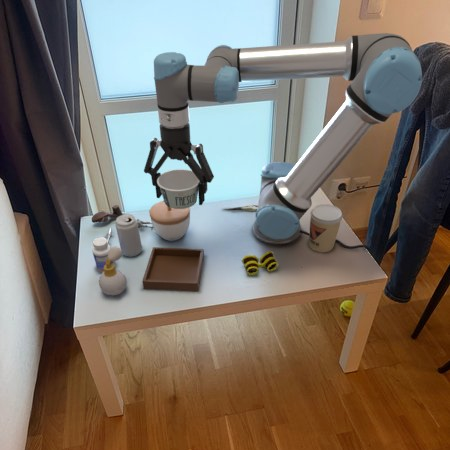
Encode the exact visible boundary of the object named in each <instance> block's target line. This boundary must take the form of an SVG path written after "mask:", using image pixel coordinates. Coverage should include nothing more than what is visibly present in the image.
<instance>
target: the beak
mask: <svg viewBox="0 0 450 450" xmlns="http://www.w3.org/2000/svg"><path fill="white" fill-rule="evenodd" d="M254 207H255V208H254ZM223 210H225V211H245V212H246V211H247V212H254V211H255V212H257V210H258V204H249V205H244V206H238V207H231V208H225V209H223Z"/></svg>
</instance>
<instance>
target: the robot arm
mask: <svg viewBox="0 0 450 450" xmlns="http://www.w3.org/2000/svg"><path fill="white" fill-rule="evenodd" d="M153 75H154V77H153V80H154V88H155V94H156V96H155V97H156V104H157V113H158V122H159V133H160V140H159V139H158V138H157V137H154V138H152V139H151V141H150V142H149V152H148V156H147V158H146V162H145V164H144V165H145V166H144V168H143V172H144V173H145V174H149V175H150V177H151V178H150V179H151V185H152V186H153V187H155V193H156V194H155V195H156V199H160V198H161V197H162V193H161V189H160V186H159V185H158V184H157V179H158V177H159V176H160V175H161V174H162V173H161V172H159V170H160V169H161V167H162V166H163V165H164V164H165V162H166V160H167V159H168V158H169V159H170V160H172V161H173V160H177V161H181V162H182V161H183V163H184V164H185V165H187V166H188V168H189V170H191V171H193V173H194V174H195V175H196V177H197V178H198V180H199V181H200V182H199V183H198V206H202V205H203V204H204V202H205V201H206V199H205V197H206V196H205V194H206V193H207V192H208V183H209V184H210V183H212V181H213V179H214V178H215V175H214V173H213V171H212V168H211V166H210V164H209V161H208V159H207V157H206V155H205V153H204V145H203V144H202V143H198V144H192V142H191V126H190V125H191V124H190V108H189V101H190V102H192V101H193V102H209V103H219V104H223V103H235V102H236V101H237V99H238V96H239V88H240V87H239V86H240V83H243V82H244V83H245V82H262V81H282V80H283V81H284V80H300V79H301V80H303V79H304V80H305V79H306V80H307V79H324V78H341V77H342V78H343V79H345V80H346V81H347V82H350V84H349V85H348V86H347V88H346V89H345V101H344V102H343V103H342V105H341V106H340V107H339V109H338V110H337V111H336V113H335V114H334V115H332V117H331V119H330V120H329V122H327V124H326V126H324V128H323V129H322V130H321V132H320V133H319V134H318V136H316V138H315V140H314V141H313V142H312V144H311V145H309V147H308V148H307V149H306V151H305V152H304V153H303V155H302V156H301V157H300V159H299V160H298V162H297V163H291V162H285V161H274V162H270V163H267V164H265V165H263V167H262V168H261V173H260V190H259V197H258V203H257V205H258V207H257V209H258V210H256V211H255V220H254V222H253V226H252V234H253V235H254V237H255V239H257V240H258V241H259V242H261V243H263V244H266V245H269V246H275V247H277V246H279V247H280V246H287V245H290V244H293V243H295V242H296V241H297V240H298V239H299V237H300V236H301V234H302V235H306V236H308V237H309V234H310V232H307V231H305V230H302V229H301V223H300V220H301V219H302V217H304V215H305V214H306V213H307V212H308V211H309V209H311V207H312V204H313V201H312V198H313V196H314V195H315V194H316V193H317V192H318V190H319V189H320V188H321V187H322V186H323V185H324V183H325V182H326V181H327V180H328V179H329V178H330V177H331V175H332V174H333V173H334V172H335V171H336V170H337V168H338V167H339V166H340V165H341V164H342V162H343V161H344V160H345V159H346V158H347V157H348V155H349V154H350V153H351V152H352V151H353V150H354V148H356V146H357V145H358V144H359V143H360V141H361V140H362V139H363V138H364V137H365V136H366V135H367V133H368V132H369V131H370V130H371V129H372V127H374V125H378V124H385V123H386V122H387V120H388V119H389V118H390V117H391V116H392V115H393V114H397V113H400V112H402V111H404V110H405V109H406V108H408V107H409V106H410V105H411V104H412V103H413V102H414V101H415V99H416V98H417V97H418V95H419V92H420V90H421V87H422V82H423V71H422V65H421V61H420V60H419V57H418V55H416V54H415V52H414V50H413V49H412V47H411V45H410V43H409V42H408V41H407V39H405V38H404V37H403V36H401V35H398V34H395V33H391V32H390V33H389V32H381V33H368V34H357V35H349V37H347V39H346V40H343V41H342V40H341V41H328V42H311V43H298V44H297V43H296V44H285V45H284V44H283V45H269V46H256V47H255V46H254V47H253V46H252V47H240V48H239V47H238V48H237V47H236V48H233V47H231V46H229V45H227V44H220V45H217V46H216V47H214V48H213V49H212V50H211V51H210V52H209V54H208V56H207V57H206V61H205V63H204V65H195V64H188V62H187V59H186V56H185V55H184V54H183V53H181V52H175V51H168V52H161V53H159V54H157V55H156V56H155V58H154V59H153ZM159 148H161V150H163V152H164V153H163V154H162V155H161V157H160V158H159V160H158V161H157V163H156V164H155V165H154V167H153V164H154V161H155V159H156V155H157V152H158V149H159ZM191 151H192V152H193V153H192V152H191ZM194 155H195V157H196V159H195V158H194ZM196 160H197V161H196ZM335 243H337V244H338V245H339V246H340V247H342V248H345V249H349V250H354V249H360V248H363V249H364V248H365V249H366V250H367V251H372V249H371V247H370V246H368V245H366V244H358V245H346V244H345V243H343V242H341V241H340V240H339V239H337V238H336V240H335Z"/></svg>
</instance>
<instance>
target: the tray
mask: <svg viewBox="0 0 450 450" xmlns="http://www.w3.org/2000/svg"><path fill="white" fill-rule="evenodd" d="M204 261H205V249H204V248H189V247H188V248H187V247H162V246H161V247H160V246H159V247H157V246H155V247H154V246H153V247H152V248H151V252H150V256H149V259H148V261H147V262H148V263H147V265H146V269H145V271H144V275H143V278H142V281H141V282H142V286H143V290H154V291H158V290H159V291H179V292H181V291H182V292H199V289H200V282H201V277H202V272H203V265H204Z"/></svg>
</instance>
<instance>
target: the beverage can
mask: <svg viewBox="0 0 450 450" xmlns="http://www.w3.org/2000/svg"><path fill="white" fill-rule="evenodd" d="M114 226H115V230H116V234H117V238H118V242H119V248H121V250H122V255H123V256H127V257H136V256H138V255H139V254H141V252H142V251H143V247H142V241H141V236H140V230H139V229H140V228H138V224H137V219H136V217H135V216H134V215H133V214H130V213H125V214H123V215H121V216H119V217H117V218H115V224H114Z"/></svg>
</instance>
